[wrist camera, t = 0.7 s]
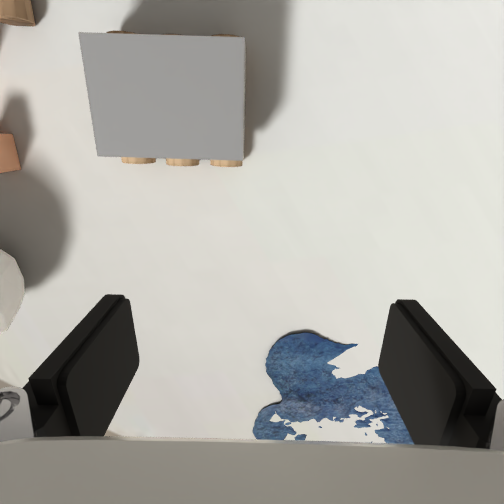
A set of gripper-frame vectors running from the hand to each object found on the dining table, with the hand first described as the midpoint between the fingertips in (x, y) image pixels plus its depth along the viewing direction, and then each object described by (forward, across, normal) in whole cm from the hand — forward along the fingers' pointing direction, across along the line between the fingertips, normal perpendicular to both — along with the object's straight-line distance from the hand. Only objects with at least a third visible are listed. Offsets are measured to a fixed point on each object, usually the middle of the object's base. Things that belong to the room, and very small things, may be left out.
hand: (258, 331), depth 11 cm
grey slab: (+25, +9, -9) cm, 28 cm away
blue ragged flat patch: (+29, -15, +36) cm, 48 cm away
